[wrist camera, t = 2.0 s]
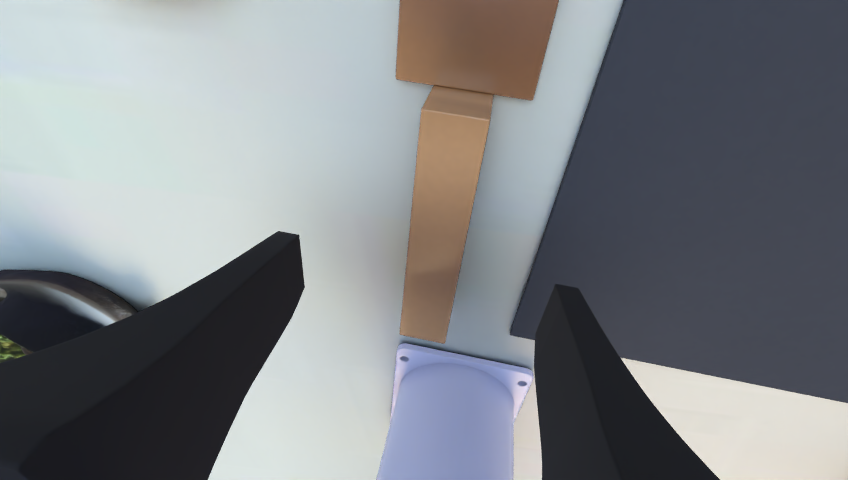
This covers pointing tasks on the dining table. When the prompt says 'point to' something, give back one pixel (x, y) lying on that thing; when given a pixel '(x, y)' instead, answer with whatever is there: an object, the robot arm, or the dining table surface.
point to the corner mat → (712, 194)
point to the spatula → (457, 129)
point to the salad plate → (51, 310)
